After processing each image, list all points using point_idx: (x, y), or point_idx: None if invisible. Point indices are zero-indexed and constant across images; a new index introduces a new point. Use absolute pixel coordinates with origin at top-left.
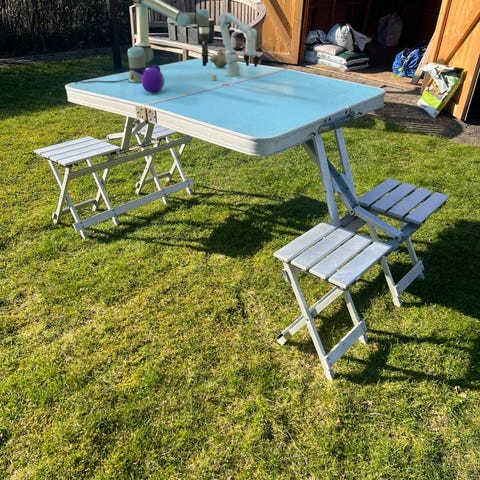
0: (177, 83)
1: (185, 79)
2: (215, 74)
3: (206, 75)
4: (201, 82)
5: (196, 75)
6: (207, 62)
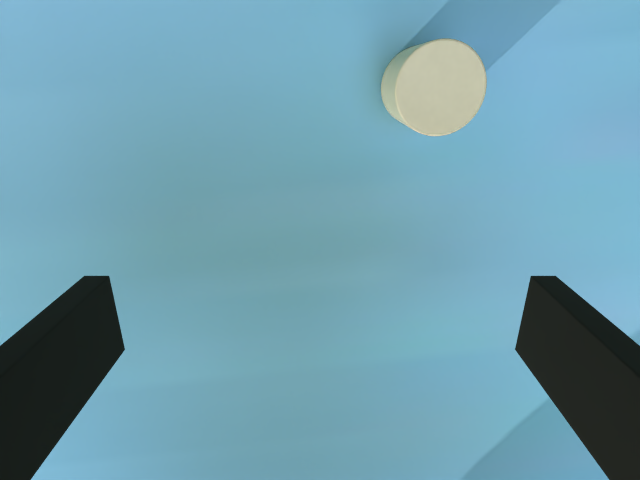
0: (531, 463)
1: (334, 424)
2: (462, 56)
3: (72, 232)
4: (545, 247)
5: None
6: (108, 295)
